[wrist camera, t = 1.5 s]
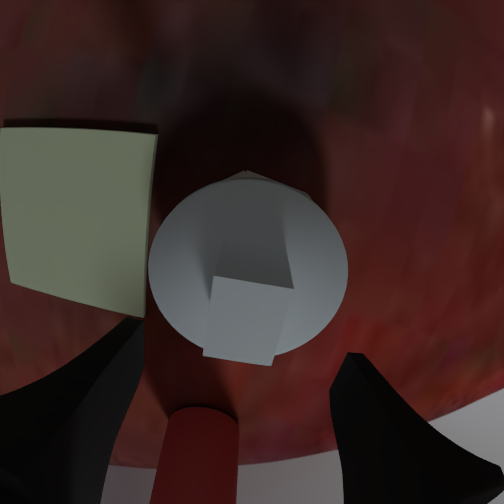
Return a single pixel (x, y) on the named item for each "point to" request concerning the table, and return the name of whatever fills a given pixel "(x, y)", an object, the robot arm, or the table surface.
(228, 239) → the lid
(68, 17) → the table surface
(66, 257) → the mat
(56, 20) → the table surface
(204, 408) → the beer can
